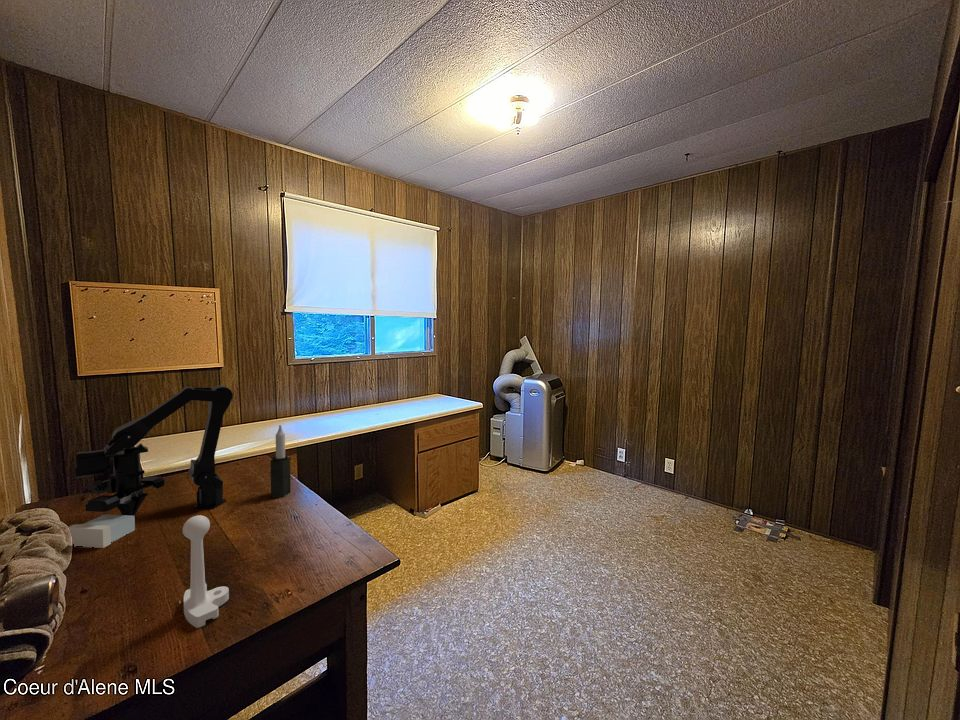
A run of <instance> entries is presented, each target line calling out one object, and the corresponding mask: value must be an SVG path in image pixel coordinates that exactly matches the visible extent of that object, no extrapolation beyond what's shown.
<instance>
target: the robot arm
mask: <svg viewBox="0 0 960 720" xmlns="http://www.w3.org/2000/svg"><path fill="white" fill-rule="evenodd" d="M233 397H234V394H233V392H232V390H231V389H230V388H228V387H226V386H224V385H219V384H217V385H214V386H212V387H206V386H205V387H194V386H193V387H192V386H185V387H183V388H181V390H180V391H178V392H177V393H175V394H174V395H172V396H171V397H169V398H168V399H166V400H165V401H164V402H161V404H159V405H158V406H156V407H155V408H153V409H151V410H150V411H149V412H147V413H146V414H144V415H142V416H140V417H139V418H136V419H133V420H131V421H128V422H126V423H124V424H123V425H120V426H118V427H117V428H115V429H114V431H113V432H112V436H111V439H110V441H108V443H107V444H105V446H104V448H103V449H97V450H91V451H90V450H89V451H79V452H76V454H75V456H76V458H75V459H76V463H75V469H74V470H75V478H76V479H79V478H84V477H91V476H96V475H103V474H106V472H108V470H110V469H111V458H112V463H113V464H112V465H113V466H112V467H113V473H112V474H109V476H108V479H107V480H104V481H101V480H100V479H98V480H95V481H92V482H90V483H88V486H87V487H88V488H87V489H88V493H89V494H90V495H94V494H96V496H97V497H94V498H92V499H88V501H86V502H85V512H95V513H97V512H98V513H105V512H109V511H112V510H113V509H116V508H117V509H118V510H119V512H120V513H121V514H120V515H129V516H136V514H137V512H138V510H139V509H140V507H141V505H142V503H144V500H145V499H146V498H147V497H148V495H149V493H145V491H144V490H145V489H147V488H150V487H153V488H154V489H157V490H158V489H159V488H162V487H164V486H165V479H164V478H163V477H162V476H146V477H143V478H142V475H144V474H145V469H141V454H144V453H148V452H149V448H148V447H147V446H146V445H144V444H143V443H140V442H141V440H143V439H144V438H145V437H146V436H147V435H148V434H149V433H150V431H151V430H152V429H154V427H155V426H156V425H158V424H160V423H161V422H162V421H163V420H165V419H166V418H168V417H169V416H171V415H172V414H174V413H175V412H176V411H178V410H180V409H181V408H182V407H184V406H185V405H187V404H188V403H190V402H191V401H200V402H201V401H202V402H207V406H208V415H207V418H206V423H205V428H204V433H203V436H202V440H201V441H202V442H201V445H200V451H199V454H198V456H197V457H196V459H191V460H190V467H189V469H188V470H187V472H188V473H189V477H190V478H191V480H192V482H193V483H194V484H195V485H196V486H198V487H197V491H196V505H194V506H193V508H194V509H205V510H206V509H207V510H208V509H209V510H212V509H215V508H217V507H218V506H220V505H222V504H223V503H225V502H226V501H227V499H226V498H224V487H223V486H224V485H223V484H224V481H223V480H222V478H221V477H220V476H219V474H217V473H216V461H215V455H216V451H217V447H218V442H219V437H220V433H221V428H222V423H223V419H224V416H225V414H226V412H227V410H228V408H229V407H230V405H231V403H232V400H233ZM138 443H139V444H138ZM137 444H138V445H137ZM106 492H107V494H111V495H105V494H103V493H106ZM112 494H113V495H112Z"/></svg>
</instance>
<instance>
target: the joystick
mask: <svg viewBox="0 0 960 720" xmlns="http://www.w3.org/2000/svg"><path fill="white" fill-rule="evenodd" d="M210 527H211V521H210V520H209V518H208V517H206V516H205V515H195V516H192V517H190V518H188V519H187V520H186V521H185V522H184V524H183V526H182V534H183V535H184V537H186V538H187V539H188V540H190V588H188V589H186V590H185V592H184V594H183V614H184V617H185V620H186V621H187V622H188V623H189V624H190V625H191V626H193V627H194V628H196V629H198V628H199V629H200V628H201V627H204V626H206V621H207V620H210V619H213V620H215V619H217V618H218V617H219V615H220V613H219V612H220V611H219V607H221V606H223V605H224V604H225V603H226V602H228V600H229V599H230V589H229V587H228V586H217V587H215V588H212V589H210V590H209V589H208V588H207V586H208V585H207V583H206V575H205V574H206V572H205V559H204V558H205V556H204V555H205V554H204V537H205V535H207V533H208V532H209V530H210V529H211V528H210Z"/></svg>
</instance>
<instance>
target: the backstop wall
mask: <svg viewBox="0 0 960 720" xmlns="http://www.w3.org/2000/svg"><path fill="white" fill-rule="evenodd" d="M83 524H84V523H81V524H78V523H77V524H76V523H75V524H72V525H69V526H68V528H69V530H70V533H71V536H72V540H73V544H74V548H75V547H76V546H83V547H82V548H92V547H94V549H97V548H98V549H104V548H106V547H108V546H110V545H111V544H112V543H111V527H110V526H105V525H83ZM76 548H77V547H76Z"/></svg>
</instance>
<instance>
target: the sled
mask: <svg viewBox="0 0 960 720" xmlns="http://www.w3.org/2000/svg"><path fill="white" fill-rule="evenodd" d="M135 516H136V515H135ZM135 516H129V515H122V514H102V515H99V516H97V517H95V518H93V519H91V520H88V521H87V522H85V523H82V524H83V525H105V526H110V527H111V542H112V543H113V541H114V542H116V541H117V540H119V539H121V538H123V537H124V536H127V535H128V534H130V533H132V532H134V531H135V530H136V523H135V522H136V521H135V520H136V519H135ZM126 534H127V535H126Z"/></svg>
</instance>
